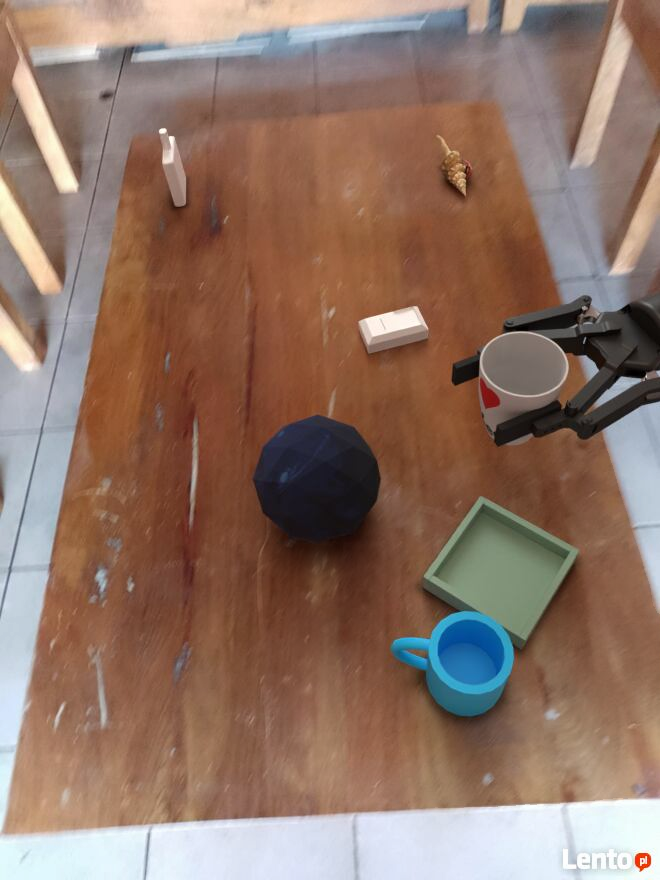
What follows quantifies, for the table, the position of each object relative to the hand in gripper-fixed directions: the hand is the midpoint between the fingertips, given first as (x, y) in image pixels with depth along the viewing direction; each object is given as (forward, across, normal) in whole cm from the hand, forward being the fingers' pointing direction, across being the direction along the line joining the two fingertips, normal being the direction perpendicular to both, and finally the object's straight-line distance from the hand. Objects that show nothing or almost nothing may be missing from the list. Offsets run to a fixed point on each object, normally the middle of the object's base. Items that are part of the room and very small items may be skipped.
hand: (475, 404), depth 69 cm
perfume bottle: (+13, +78, -22) cm, 82 cm away
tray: (0, -9, -22) cm, 24 cm away
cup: (-5, 0, -7) cm, 8 cm away
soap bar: (-6, +30, -22) cm, 38 cm away
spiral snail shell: (-32, +59, -22) cm, 70 cm away
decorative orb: (+15, +8, -22) cm, 28 cm away
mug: (+10, -16, -22) cm, 29 cm away
